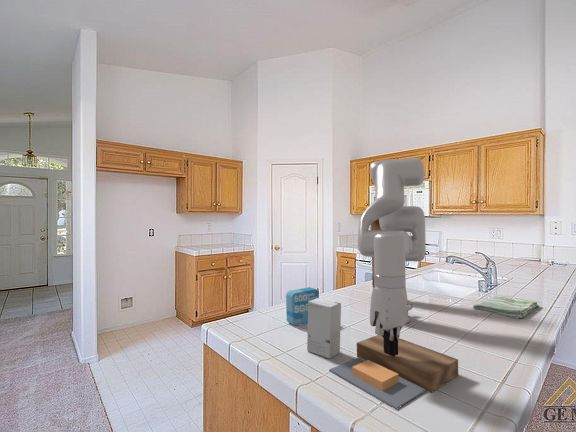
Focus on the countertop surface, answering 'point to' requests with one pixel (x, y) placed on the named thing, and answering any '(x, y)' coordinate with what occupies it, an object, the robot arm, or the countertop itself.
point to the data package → (299, 304)
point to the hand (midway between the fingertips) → (390, 353)
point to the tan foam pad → (375, 375)
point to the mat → (390, 396)
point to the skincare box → (324, 327)
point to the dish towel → (507, 307)
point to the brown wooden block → (411, 362)
